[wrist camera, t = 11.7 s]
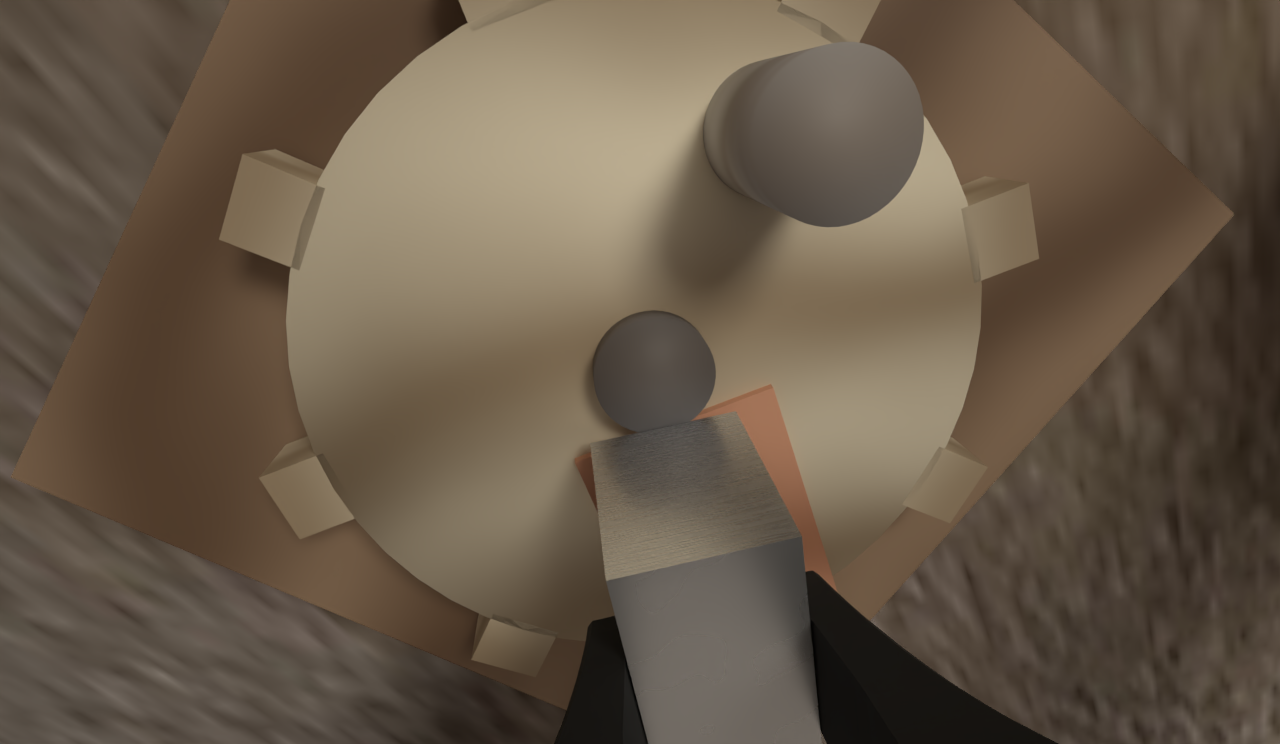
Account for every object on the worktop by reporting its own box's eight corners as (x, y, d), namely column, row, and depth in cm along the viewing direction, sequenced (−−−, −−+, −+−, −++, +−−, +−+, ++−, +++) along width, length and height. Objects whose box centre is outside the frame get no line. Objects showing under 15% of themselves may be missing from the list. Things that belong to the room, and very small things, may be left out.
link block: (589, 443, 14) (606, 581, 10) (735, 411, 14) (801, 536, 10) (638, 640, 16) (665, 807, 13) (762, 611, 16) (824, 769, 13)
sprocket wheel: (1038, 507, 18) (1202, 642, 14) (461, 721, 19) (430, 922, 14) (918, -229, 12) (1138, -434, 8) (72, 110, 13) (-208, 109, 8)
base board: (1181, 205, 18) (1258, 217, 16) (717, 736, 22) (733, 796, 20) (481, -451, 12) (466, -561, 10) (56, 446, 17) (-10, 491, 15)
